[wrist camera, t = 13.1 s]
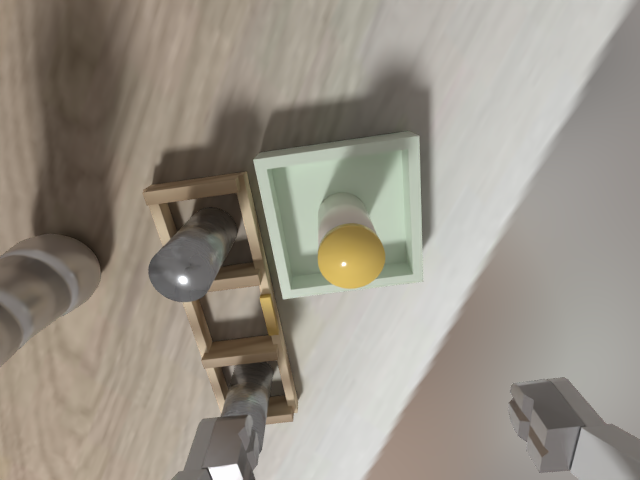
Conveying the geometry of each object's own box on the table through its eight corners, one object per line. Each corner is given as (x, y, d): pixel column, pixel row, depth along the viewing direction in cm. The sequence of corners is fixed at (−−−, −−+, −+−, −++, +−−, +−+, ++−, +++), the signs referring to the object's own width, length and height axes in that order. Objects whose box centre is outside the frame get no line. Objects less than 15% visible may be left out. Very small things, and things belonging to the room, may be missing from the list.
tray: (259, 152, 27) (253, 159, 25) (408, 130, 27) (419, 135, 24) (285, 281, 32) (282, 299, 29) (414, 264, 32) (423, 281, 29)
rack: (151, 184, 28) (137, 193, 26) (247, 171, 28) (241, 178, 26) (226, 408, 38) (221, 429, 36) (298, 400, 38) (297, 420, 36)
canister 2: (229, 360, 36) (207, 430, 28) (268, 355, 35) (256, 425, 28) (238, 389, 37) (220, 463, 30) (276, 385, 37) (266, 458, 30)
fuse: (313, 195, 28) (313, 232, 21) (365, 188, 28) (382, 223, 21) (320, 242, 30) (322, 292, 22) (369, 235, 29) (387, 284, 22)
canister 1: (183, 210, 29) (139, 252, 22) (230, 204, 29) (202, 243, 22) (197, 253, 31) (160, 305, 24) (241, 247, 31) (218, 298, 23)
